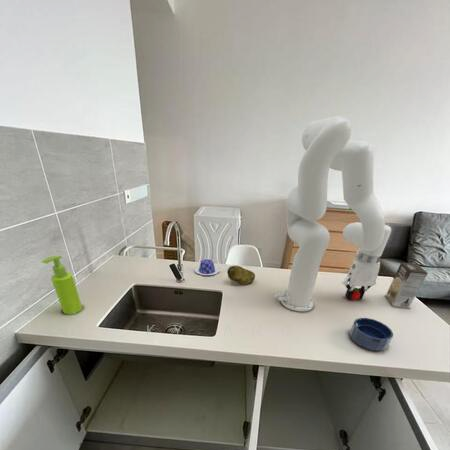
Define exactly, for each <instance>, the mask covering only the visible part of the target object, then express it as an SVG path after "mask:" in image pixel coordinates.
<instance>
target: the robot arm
mask: <svg viewBox="0 0 450 450" xmlns="http://www.w3.org/2000/svg"><path fill="white" fill-rule="evenodd" d="M352 126H353V125H352V122H351V120H350V119H349V118H347V117H346V116H341V115H337V116H331V117H326V118H320V119H316V120H313V121H311V122H310V123H308V124H307V126H305V128H304V130H303V133H302V135H301V143H302V147H303V148H304V150H305V152H304V153H303V155H302V158H301V160H300V162H299V166H298V173H297V186H295V187H293V188H292V189H291V190H290V191H289V193H288V195H287V197H286V200H285V218H286V229H287V235H288V238H289V239H290V241H292V242H293V243H295V244H296V245H297V246H298V250H297V251H296V253H295V255H294V256H293V259H292V264H291V269H290V273H289V278H288V279H289V280H288V283H287V287H286V289H284V291H283V292H281V293H280V292H276V293H273V298H274V299H278V301H280V303H281V304H282V305H283V307H285V308H287V309H289V310H290V311H291V310H292V311H293V312H309V311H311V310H312V309H313V307H314V301H313V300H312V296H313V292H314V288H315V285H316V281H317V277H318V273H319V269H320V266H321V263H322V261H323V257H324V255H325V252H326V251H327V249H328V247H329V244H330V242H331V234H330V232H329V230H328V228H326V227H325V226H324V225H323V224H322V223H320V222H317V221H319V220H321V219H322V218H323V217H324V216H325V214H326V211H327V207H328V182H329V181H328V179H329V170H330V169H331V170H334V171H339V172H341V178H342V192H343V200H344V202H345V203H346V205H347V206H348V207H349V209H351V210H352V211H353V212H354V213H355V215H356V216H357V218H358V219H359V221H360V222H358V221H357V222H351V223H349V224H347V225H346V226H345V227H344V228H343V230H342V238H343V239H344V241H346V242H347V243H349V244H351V245H353V246H355V247H357V248H359V251H358V254H355V259H354V260H353V262H352V264H351V266H350V268H349V269H348V273H347V275H346V278H344V280H342V281H341V284H343V285H344V286H345V288H346V291H345V294H344V297H345V298H346V299H347V300H348V301H350V300H351V297H352V294H353V289H354V288H356V287H358V289H359V291H360V293H361V295H360V297H359V298H358V299H359V300H360V301H361V300H363V298H364V296H365V292H367V291H368V290H369V289H370V288H371V287H373V286H375V285H376V284H377V279H378V276H379V272H380V268H381V261H380V260H381V257H382V256H383V253H384V250H385V247H386V245H387V243H388V241H389V238H390V236H391V234H392V227H391V226H389V225H388V224H386V219H385V215H384V211H383V209H382V206H381V205H380V203H379V201H378V199H377V197H376V195H375V192H374V147H373V144H371V142H369V141H367V140H362V139H351V140H350V138H351V135H352V131H353V129H352V128H353V127H352Z"/></svg>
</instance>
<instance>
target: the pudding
mask: <svg viewBox="0 0 450 450" xmlns="http://www.w3.org/2000/svg"><path fill="white" fill-rule="evenodd" d="M194 272H195V273H196V274H199V275H202V276H212V275H213V276H214V275H216V274H218V273H219V272H220V269H219V267H217V266H215V264H214V261H213V260H212V259H208V258H207V259H202V260H201V261H200V264H199V265H197V266H195V268H194Z"/></svg>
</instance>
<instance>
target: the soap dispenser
mask: <svg viewBox="0 0 450 450" xmlns="http://www.w3.org/2000/svg"><path fill="white" fill-rule="evenodd" d="M62 258H63V256H62V255H58V254H56V255H52V256H49V257H46V258H45V259H43V260H41V263H44V264H49V263H51V262H52V263H53V264H54V265H53V266H52V267H51V268H52V271H53V275H52V276H51V277H50V279H51V281H52V285H53V287H54V291H55V293H56V295H57V298H58V302H59V304H60V306H61V307H60V308H61V310H62V312H63V314H65V315H74V314H77V313H78V312H81V311H82V309H83V306H82V302H81V300H80V295H79V292H78V289H77V286H76V282H75V279H74V277H73V273H71V272H68V271H67V268H66V266H65V265H64V264H62V263H61V260H60V259H62Z"/></svg>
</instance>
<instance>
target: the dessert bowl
mask: <svg viewBox="0 0 450 450" xmlns="http://www.w3.org/2000/svg"><path fill="white" fill-rule="evenodd" d="M349 337H350V338H351V340H352V341H353V342H354V343H355V344H357V345H358V346H360V347H362V348H363V349H367V350H370V351H375V352H377V351H378V352H379V351H384V350H386V349H387V348H388V347H389V345H390V343H391V341H392V339H393V337H394V333H393V330H392V329H391V328H390V327H389V326H388V325H386V324H385V323H383V322H381V321H379V320H376V319H375V318H369V317H359V318H356V319H355V320H354V321H353V323H352V325H351V328H350V330H349Z"/></svg>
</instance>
